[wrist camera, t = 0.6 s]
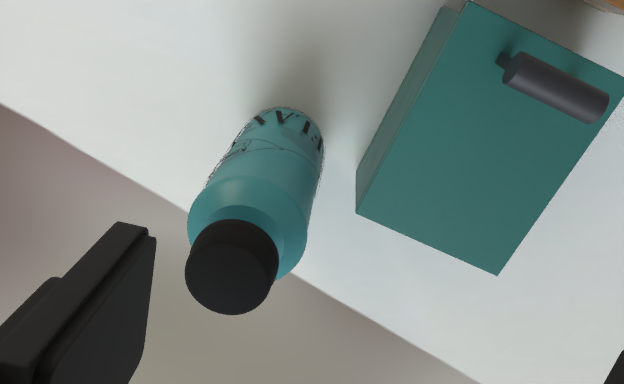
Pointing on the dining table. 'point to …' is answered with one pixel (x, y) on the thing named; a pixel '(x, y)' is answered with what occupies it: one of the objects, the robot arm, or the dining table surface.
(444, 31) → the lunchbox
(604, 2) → the block
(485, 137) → the lunchbox lid
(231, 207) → the beverage bottle
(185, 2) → the dining table surface
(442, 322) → the dining table surface
